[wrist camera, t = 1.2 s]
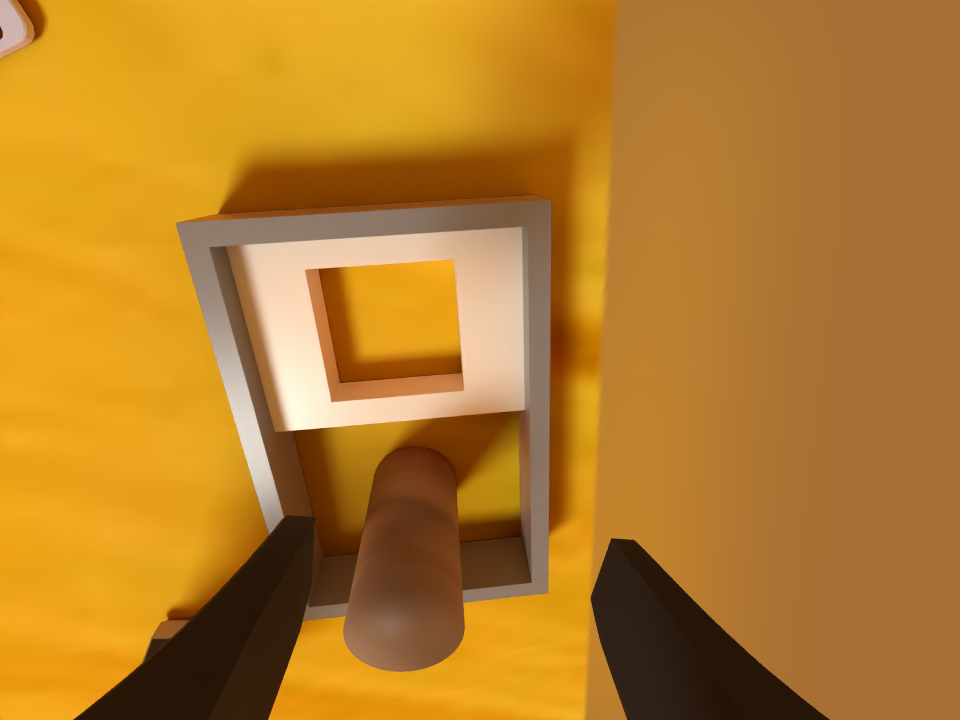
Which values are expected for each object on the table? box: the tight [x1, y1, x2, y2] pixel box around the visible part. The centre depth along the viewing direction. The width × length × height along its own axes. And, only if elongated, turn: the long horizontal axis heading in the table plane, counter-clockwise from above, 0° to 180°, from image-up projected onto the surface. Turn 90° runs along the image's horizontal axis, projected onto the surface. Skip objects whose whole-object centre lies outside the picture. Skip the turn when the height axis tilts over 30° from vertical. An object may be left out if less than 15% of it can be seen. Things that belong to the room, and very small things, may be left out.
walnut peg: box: [343, 447, 465, 672], centre depth 19 cm, size 4×4×8 cm
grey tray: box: [176, 195, 552, 621], centre depth 20 cm, size 18×12×3 cm, turn 3°
